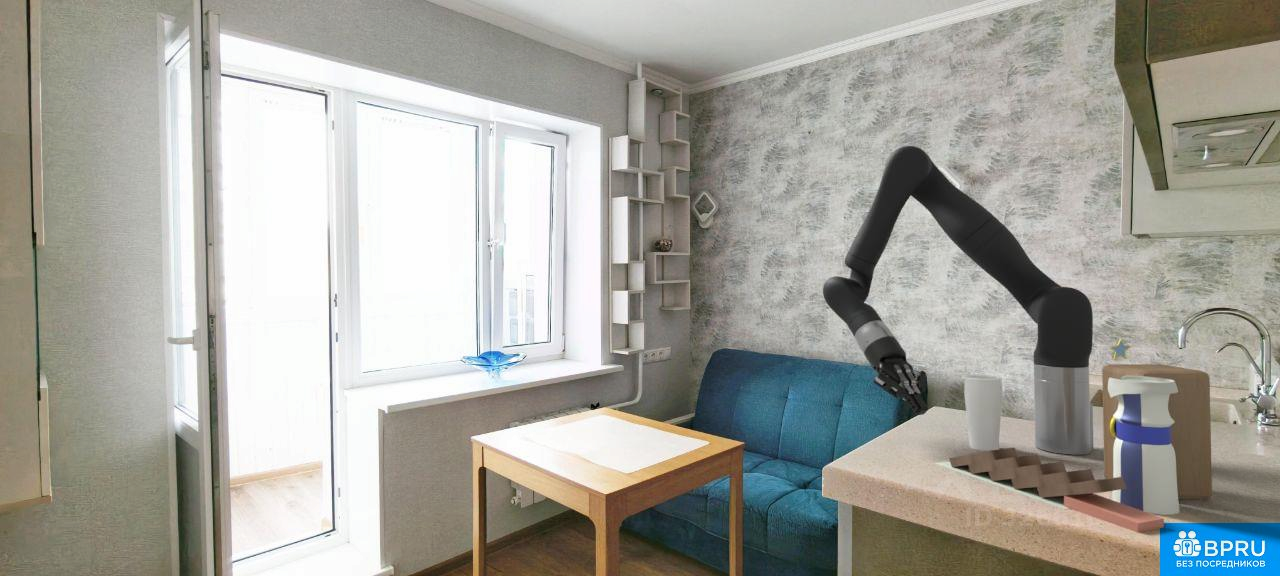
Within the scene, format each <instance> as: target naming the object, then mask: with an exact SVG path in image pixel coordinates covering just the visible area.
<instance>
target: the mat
mask: <svg viewBox="0 0 1280 576" xmlns="http://www.w3.org/2000/svg"><path fill="white" fill-rule="evenodd" d="M934 464H936V465H937V466H941V467H943V468H946V469H949V470H951V471H955V472H956V473H957V472H958V473H960V474H963V475H966V476H969V477H972V478H974V479H978V480H980V481H982V482H986V483H989V484H991V485H993V486H998V487H1001V488H1003V489H1005V490H1009V491H1011V492H1014V493H1017V494H1020V495H1023V496H1025V497H1028V498H1030V499H1034V500H1036V501H1040V502H1042V503H1045V504H1048V505H1051V506H1052V507H1053V506H1054V507H1056V508H1059V509H1063V510H1069V509H1070V508H1068V507H1065V506H1064V496H1053V497H1041V498H1040V495H1039V492H1038V490H1037V487H1030V488H1020V489H1014V486H1013V483H1012V480H1011V479H1005V480H997V481H991V478H990V475H989V472H982V473H974V474H971V472H970V469H969V466H968V465H966V466H958V467H952V466H951V463H950V460H948V461H939V462H934ZM1013 479H1014V478H1013ZM1070 510H1071V509H1070Z"/></svg>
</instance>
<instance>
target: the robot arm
mask: <svg viewBox="0 0 1280 576" xmlns="http://www.w3.org/2000/svg"><path fill="white" fill-rule="evenodd" d="M910 197H912V198H913V199H914V200H916V201H917V202H918V203H919V204H921V206H923V207H924V208H925V209H926V210H927V211H928V212H929V213H930V215H931V216H932V218H933V219H934V220H935V221H936V222H937V224H938V225H939V226H940V228H941V229H942V230H943V232H944V234H945V235H947V237H948V238H949V240H951V241H952V242H953V243H954V244H955V245H956V246H957V247H958V248H959V249H960V250H961V251H962V252H963V253H964V254H965V255H966V256H967V257H968V258H969V259H971V261H973V262H974V263H975V264H976V265H977V266H978V267H980V269H981V270H983V271H984V272H986V273H987V274H988V275H989V276H990V277H991V278H993V280H995V281H997V282H998V283H999V284H1000V285H1002V286H1003V287H1004V288H1005V289H1006V290H1007V291H1008V292H1009V293H1010V295H1012V296H1013V298H1014V299H1015V300H1016V302H1017V303H1018V304H1019V305H1020V306H1021V307H1022V308H1023V310H1024V311H1025V313H1027V315H1028V316H1029V318H1031V320H1032V321H1034V323H1035V324H1037V342H1036V347H1035V349H1034V351H1033V386H1034V387H1033V390H1034V392H1033V393H1034V442H1035V443H1034V445H1035V447H1036V448H1037V449H1040V450H1042V451H1046V452H1051V453H1057V454H1061V455H1062V454H1064V455H1074V456H1075V455H1078V456H1079V455H1088V454H1090V453H1091V451H1094V450H1095V449H1094V448H1095V447H1094V413H1093V412H1094V411H1093V410H1094V406H1093V403H1092V402H1091V401H1090V394H1091V393H1090V356H1091V354H1092V350H1093V334H1094V331H1093V330H1094V329H1093V327H1094V326H1093V325H1094V319H1093V318H1094V317H1093V314H1094V313H1093V307H1092V303H1091V301H1090V299H1089V298H1088V296H1087V295H1086V294H1085V293H1084V292H1082V291H1081V290H1079V289H1077V288H1073V287H1069V286H1062V285H1060V284H1058V283H1057V282H1056V281H1055V280H1053V279H1052V278H1050V277H1049V276H1048V275H1047V274H1045V272H1043V271H1042V270H1041V269H1040V268H1038V267H1037V265H1035V263H1034V262H1033V261H1032V260H1031V258H1030V257H1029V256H1028V254H1027V253H1026V251H1025V250H1024V248H1023V247H1022V245H1021V244H1020V243H1019V241H1018V239H1017V238H1016V236H1014V234H1013V233H1012V232H1011V231H1010V230H1009V229H1008V227H1006V226H1005V225H1004V224H1003V223H1002V222H1001V221H1000V219H999V218H997V217H996V216H995V215H993V214H992V213H991V212H990V211H989V210H987V209H986V208H985V207H984V206H982V205H981V204H980V203H979V202H978V201H976V200H974V199H973V198H972V197H971V196H969V195H968V194H966V193H964V192H963V191H962V190H960V189H959V188H958V187H956V186H955V185H954V184H953V183H952V182H951V181H950V180H949V179H948V178H947V177H946V175H944V174H943V172H942V171H941V170H940V169H939V168H938V167H937V165H936V164H935V163H934V162H933V161H932V158H930V156H929V154H928V153H926V151H924V149H922V148H920V147H918V146H914V145H905V146H901V147H899V148H897V149H895V150H894V151H892V152H891V153H890V155H888V157H887V159H886V161H885V164H884V169H883V173H882V175H881V179H880V184H879V186H878V190H877V192H876V194H875V197H874V199H873V201H872V204H871V207H870V208H869V210H868V213H867V215H866V216H865V218H864V220H863V222H862V223H861V226H860V228H859V230H858V232H857V233H856V235H855V237H854V239H853V240H852V243H851V246H850V247H849V249H848V252H847V253H846V255H845V258H844V264H845V266H846V267H847V268H848V269H850V275H849V278H848V277H843V276H831V277H830V278H828V279H827V280H825V282H824V284H823V288H822V295H823V298H824V301H825V302H826V304H827V305H828V307H829V309H831V310H832V311H833V312H834V313H835V314H836V315H837V316H838V318H840V319H841V320H842V321H843V322H844V323H845V324H846V326H847V327H848V328H849V330H850V332H851V334H852V335H853V336H854V338H855V340H856V343H857V345H858V347H859V349H860V351H861V352H862V353H863V355H864V356H865V358H866V360H867V361H868V363H869V365H870V366H871V368H872V369H873V371H875V372H876V373H877V375H876V376H875V378H873V380H872V381H873V383H874V384H875V385H876V386H878V387H879V388H880V389H883V390H884V391H885V392H887V394H888V395H889V394H890V395H891V396H892V397H893V398H896V399H900V398H901V399H902V400H903V401H906V403H907V404H908V406H909V407H910V409H911V411H912V412H914V414H915V415H916V416H922V415H925V414H926V413H927V412H928V411H929V408H928V405H927V403H926V401H925V400H924V399H923V397H922V396H921V395H922V393H924V392H925V390H926V382H927V380H926V379H927V373H926V371H924V370H920V372H919V371H917V370H916V369H914V366H912V364H910V363H909V362H908V361H907V354H906V351H905V350H904V349H903V347H902V345H901V344H900V342H899V341H898V340H897V338H896V336H895V335H894V333H892V331H891V329H890V328H889V327H888V325H886V324H885V322H884V320H883V319H882V318H881V317H880V315H879V314H878V312H877V311H876V310H875V308H874V307H872V306H871V305H869V304H868V303H865V302H866V300H867V299H868V297H869V294H870V291H871V287H872V281H873V278H874V277H873V276H874V273H875V272H874V271H875V269H876V267H877V265H878V262H879V261H880V259H881V257H882V256H883V253H884V251H885V249H886V247H887V245H888V243H889V241H890V239H891V235H892V232H893V231H894V228H895V225H896V223H897V220H898V218H899V216H900V214H901V211H902V210H903V208H904V207H905V205H906V203H907V201H908V200H909V198H910Z"/></svg>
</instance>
